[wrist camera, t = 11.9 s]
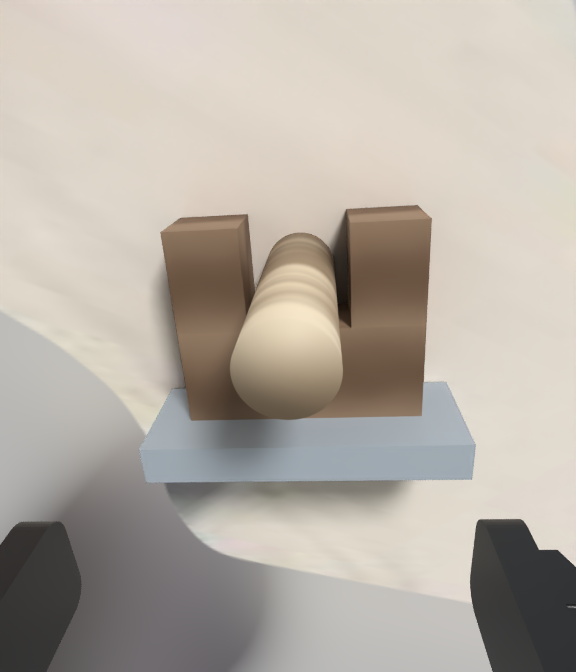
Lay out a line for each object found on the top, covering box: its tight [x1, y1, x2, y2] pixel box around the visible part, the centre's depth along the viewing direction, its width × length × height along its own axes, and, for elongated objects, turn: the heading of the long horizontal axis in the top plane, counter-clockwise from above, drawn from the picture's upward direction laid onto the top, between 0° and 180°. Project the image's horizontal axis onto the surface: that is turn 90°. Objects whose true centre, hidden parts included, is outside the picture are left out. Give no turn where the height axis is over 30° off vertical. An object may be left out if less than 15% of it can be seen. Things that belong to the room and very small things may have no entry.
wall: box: [139, 382, 476, 483], centre depth 27 cm, size 2×16×6 cm, turn 93°
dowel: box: [230, 233, 343, 420], centre depth 21 cm, size 4×4×12 cm
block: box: [160, 205, 432, 421], centre depth 26 cm, size 10×12×4 cm
